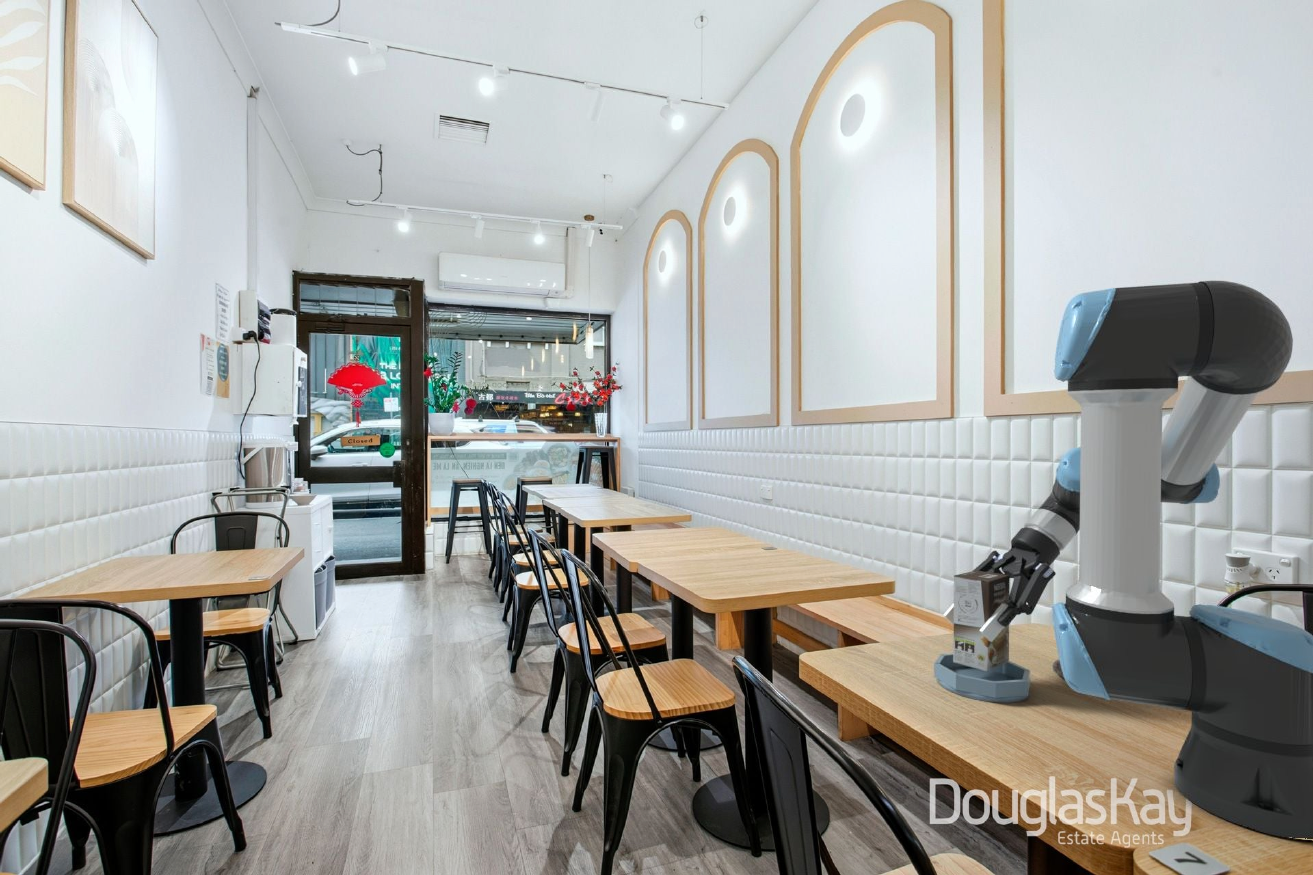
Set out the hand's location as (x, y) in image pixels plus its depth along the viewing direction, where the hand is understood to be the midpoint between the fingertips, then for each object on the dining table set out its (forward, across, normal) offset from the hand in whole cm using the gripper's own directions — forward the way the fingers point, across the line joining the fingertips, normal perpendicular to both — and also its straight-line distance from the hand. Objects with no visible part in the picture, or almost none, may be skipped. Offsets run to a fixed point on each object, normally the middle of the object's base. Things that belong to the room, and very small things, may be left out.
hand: (966, 627), depth 115 cm
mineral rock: (-10, +1, -26) cm, 28 cm away
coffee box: (+3, 0, -7) cm, 7 cm away
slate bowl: (+6, 0, -10) cm, 11 cm away
